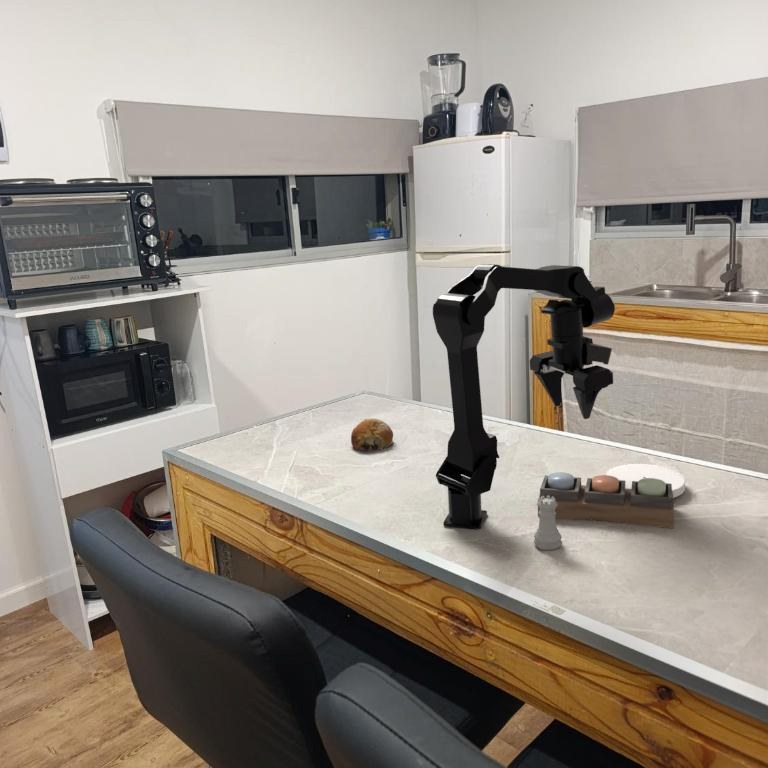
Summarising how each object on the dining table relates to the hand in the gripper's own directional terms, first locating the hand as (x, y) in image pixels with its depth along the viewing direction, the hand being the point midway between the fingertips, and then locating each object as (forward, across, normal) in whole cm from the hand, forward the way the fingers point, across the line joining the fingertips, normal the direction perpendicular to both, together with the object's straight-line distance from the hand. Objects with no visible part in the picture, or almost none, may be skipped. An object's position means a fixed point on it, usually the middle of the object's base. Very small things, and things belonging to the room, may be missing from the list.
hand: (571, 412), depth 135 cm
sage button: (+9, -21, -1) cm, 23 cm away
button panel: (+13, -16, +5) cm, 21 cm away
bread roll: (+13, +40, +28) cm, 51 cm away
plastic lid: (+14, -11, -7) cm, 20 cm away
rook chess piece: (+12, -21, +20) cm, 32 cm away
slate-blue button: (+9, -11, +11) cm, 17 cm away
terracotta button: (+9, -16, +5) cm, 19 cm away
